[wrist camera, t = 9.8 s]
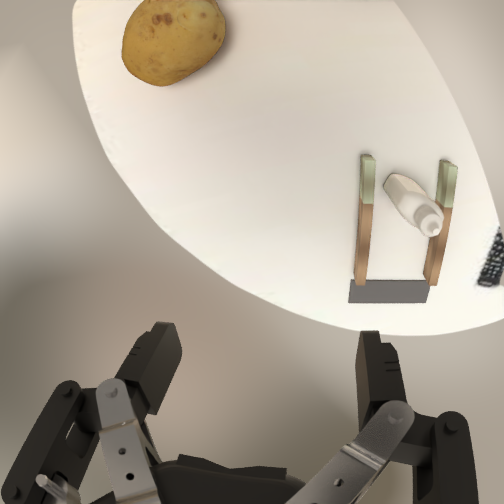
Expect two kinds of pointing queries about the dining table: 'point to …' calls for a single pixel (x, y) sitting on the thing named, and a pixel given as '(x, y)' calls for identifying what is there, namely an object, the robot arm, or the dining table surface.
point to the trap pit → (389, 291)
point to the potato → (171, 39)
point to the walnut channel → (366, 212)
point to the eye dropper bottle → (414, 204)
